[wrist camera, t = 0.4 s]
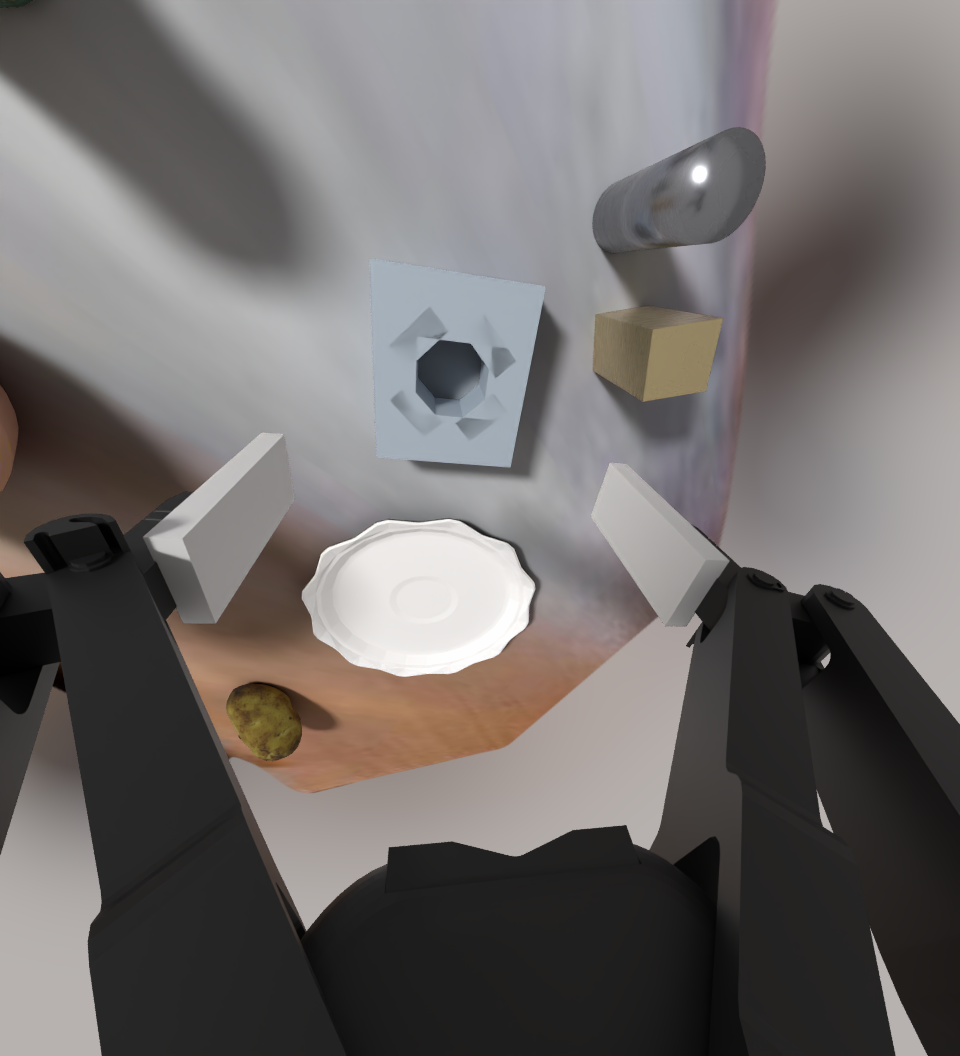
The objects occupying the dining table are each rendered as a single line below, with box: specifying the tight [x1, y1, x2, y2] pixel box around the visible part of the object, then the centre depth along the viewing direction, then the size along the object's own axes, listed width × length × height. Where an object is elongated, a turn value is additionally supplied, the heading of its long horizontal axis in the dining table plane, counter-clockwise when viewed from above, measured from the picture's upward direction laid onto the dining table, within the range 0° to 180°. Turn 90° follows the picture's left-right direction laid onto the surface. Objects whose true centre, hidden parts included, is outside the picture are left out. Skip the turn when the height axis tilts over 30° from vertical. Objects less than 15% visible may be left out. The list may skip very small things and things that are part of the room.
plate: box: [302, 518, 535, 677], centre depth 48 cm, size 29×29×2 cm
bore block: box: [369, 258, 546, 467], centre depth 30 cm, size 14×12×5 cm
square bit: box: [593, 306, 723, 402], centre depth 28 cm, size 5×5×10 cm
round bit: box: [593, 127, 765, 253], centre depth 23 cm, size 4×4×12 cm
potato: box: [226, 684, 302, 761], centre depth 55 cm, size 8×13×8 cm, turn 7°
